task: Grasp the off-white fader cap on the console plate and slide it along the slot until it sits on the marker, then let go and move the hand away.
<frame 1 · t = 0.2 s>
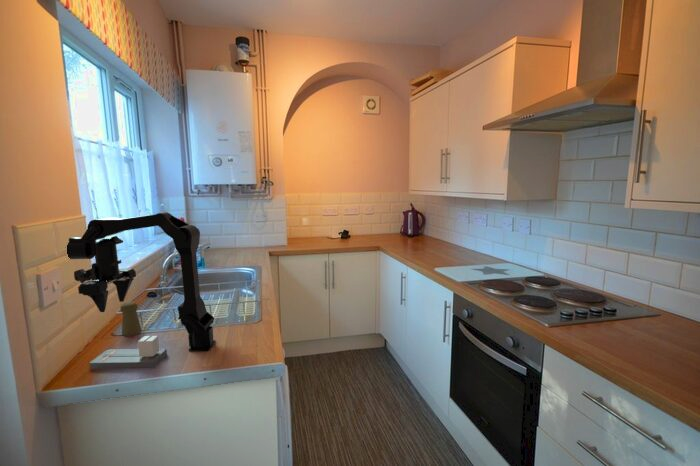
hand: (112, 306, 110), 14 cm above the countertop, tool pointing down, fingers open, 9 cm apart
fader: (148, 345, 104), point 5 cm above the countertop, slide at 0.0 cm
cork: (131, 332, 125), on the countertop
console: (130, 361, 104), on the countertop
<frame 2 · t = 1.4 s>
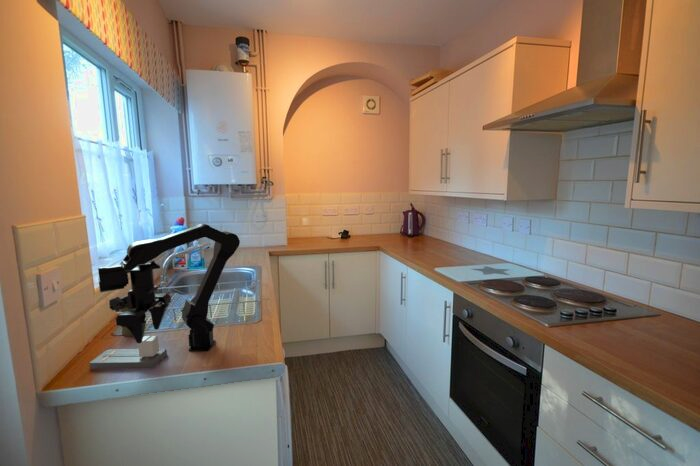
hand: (148, 335, 103), 8 cm above the countertop, tool pointing down, fingers open, 9 cm apart
nothing on the countertop moved.
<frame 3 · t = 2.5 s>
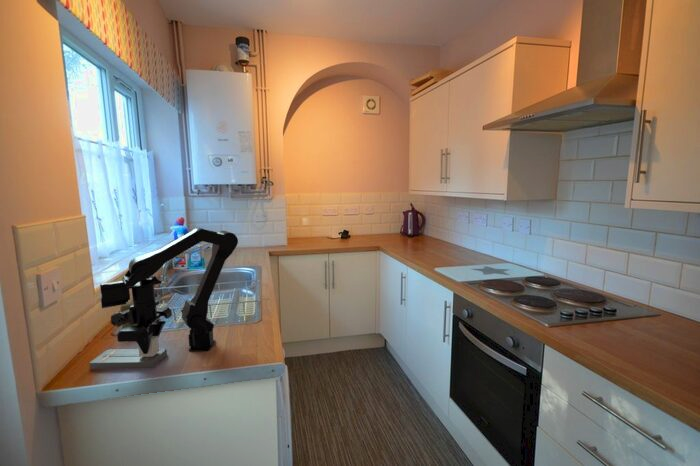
hand: (149, 350, 104), 4 cm above the countertop, tool pointing down, fingers closed on fader, 3 cm apart
fader: (148, 345, 104), point 5 cm above the countertop, slide at 0.0 cm, touching gripper
everything else where it was.
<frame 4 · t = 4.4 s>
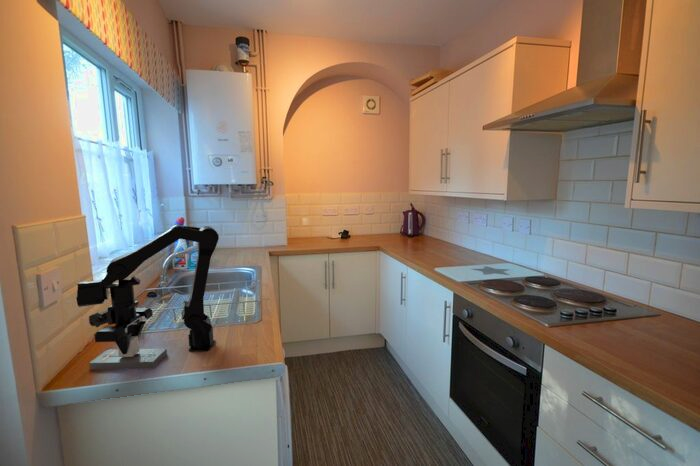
hand: (128, 350, 104), 4 cm above the countertop, tool pointing down, fingers closed on fader, 3 cm apart
fader: (128, 346, 103), point 5 cm above the countertop, slide at 6.0 cm, touching gripper
everything else where it was.
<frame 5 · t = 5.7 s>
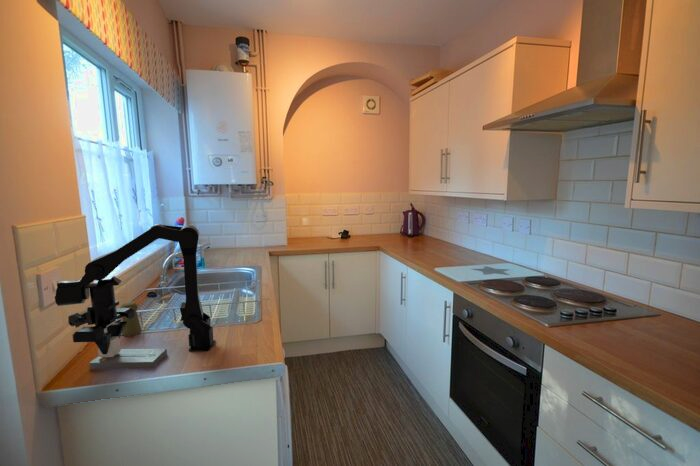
hand: (109, 350, 104), 4 cm above the countertop, tool pointing down, fingers closed on fader, 3 cm apart
fader: (108, 346, 103), point 5 cm above the countertop, slide at 11.8 cm, touching gripper
everything else where it was.
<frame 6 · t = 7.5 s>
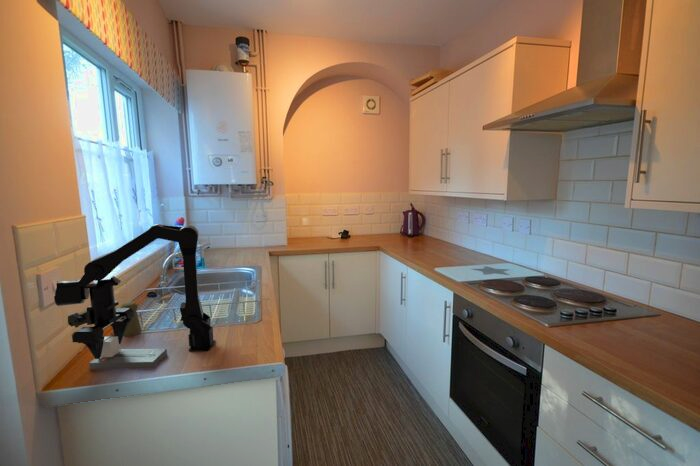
hand: (108, 351, 104), 4 cm above the countertop, tool pointing down, fingers open, 9 cm apart
fader: (108, 346, 103), point 5 cm above the countertop, slide at 12.0 cm
everything else where it was.
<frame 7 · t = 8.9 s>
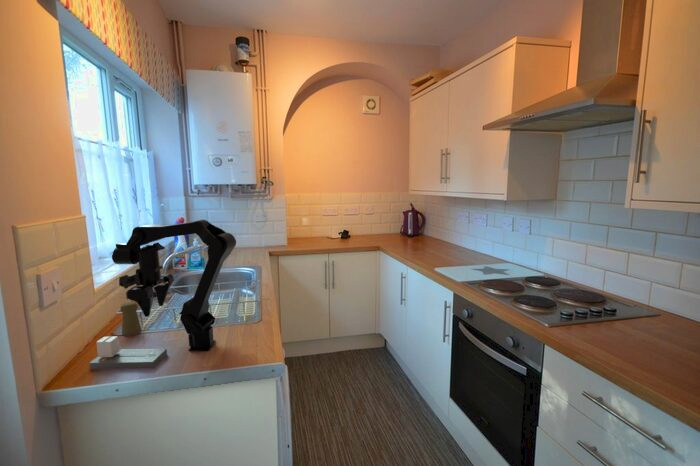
hand: (154, 310, 113), 12 cm above the countertop, tool pointing down, fingers open, 9 cm apart
nothing on the countertop moved.
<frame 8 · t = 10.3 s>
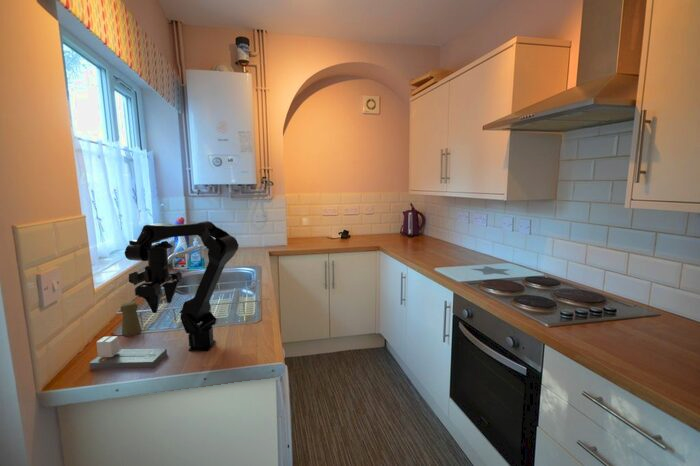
hand: (162, 307, 115), 12 cm above the countertop, tool pointing down, fingers open, 9 cm apart
nothing on the countertop moved.
at the end: fader slide at 12.0 cm; the gripper is holding nothing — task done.
